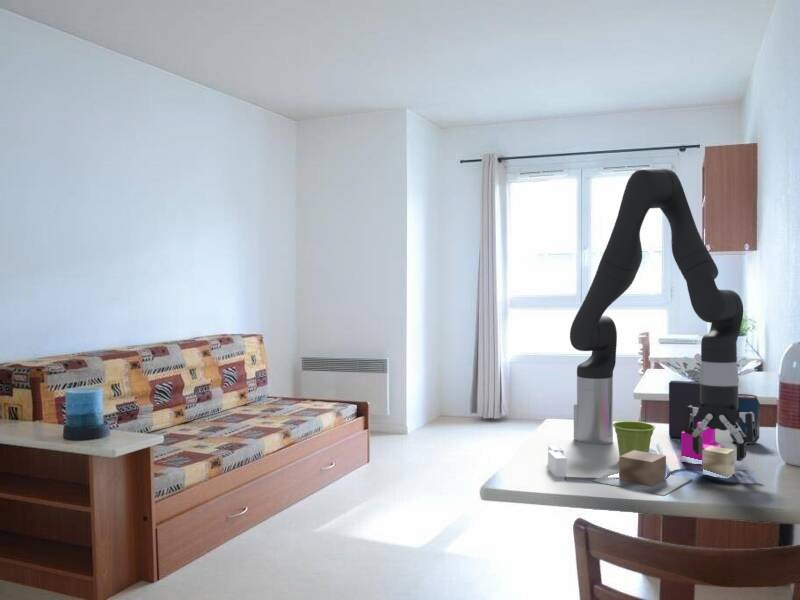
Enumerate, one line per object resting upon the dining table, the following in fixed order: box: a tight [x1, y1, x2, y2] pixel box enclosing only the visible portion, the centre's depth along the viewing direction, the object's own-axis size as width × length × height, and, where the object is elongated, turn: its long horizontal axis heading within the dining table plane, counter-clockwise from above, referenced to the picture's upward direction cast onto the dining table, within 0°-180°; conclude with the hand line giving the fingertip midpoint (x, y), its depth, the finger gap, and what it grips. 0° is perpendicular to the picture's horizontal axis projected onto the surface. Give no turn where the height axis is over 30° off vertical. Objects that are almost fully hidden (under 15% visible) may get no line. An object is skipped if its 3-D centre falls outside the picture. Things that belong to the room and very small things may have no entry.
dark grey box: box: [668, 380, 703, 439], centre depth 189 cm, size 11×4×15 cm, turn 63°
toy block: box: [680, 422, 722, 460], centre depth 167 cm, size 15×6×8 cm, turn 142°
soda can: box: [729, 393, 761, 444], centre depth 184 cm, size 7×7×12 cm
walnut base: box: [592, 450, 693, 497], centre depth 147 cm, size 15×15×6 cm
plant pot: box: [613, 420, 656, 456], centre depth 164 cm, size 9×9×9 cm
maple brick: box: [702, 446, 735, 477], centre depth 152 cm, size 5×5×6 cm
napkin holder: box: [547, 444, 568, 478], centre depth 156 cm, size 15×11×6 cm
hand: (719, 457), depth 151 cm, fingers open, 8 cm apart
